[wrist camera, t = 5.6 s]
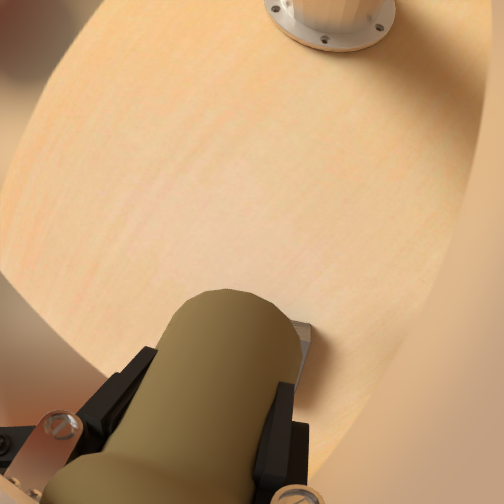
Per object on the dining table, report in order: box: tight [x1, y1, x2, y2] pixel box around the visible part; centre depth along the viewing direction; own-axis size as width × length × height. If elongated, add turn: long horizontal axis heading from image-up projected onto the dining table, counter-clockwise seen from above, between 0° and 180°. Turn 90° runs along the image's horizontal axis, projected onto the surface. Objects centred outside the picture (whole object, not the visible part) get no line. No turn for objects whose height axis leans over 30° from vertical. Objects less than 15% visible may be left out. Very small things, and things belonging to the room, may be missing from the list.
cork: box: [39, 289, 303, 504], centre depth 8 cm, size 6×6×11 cm
